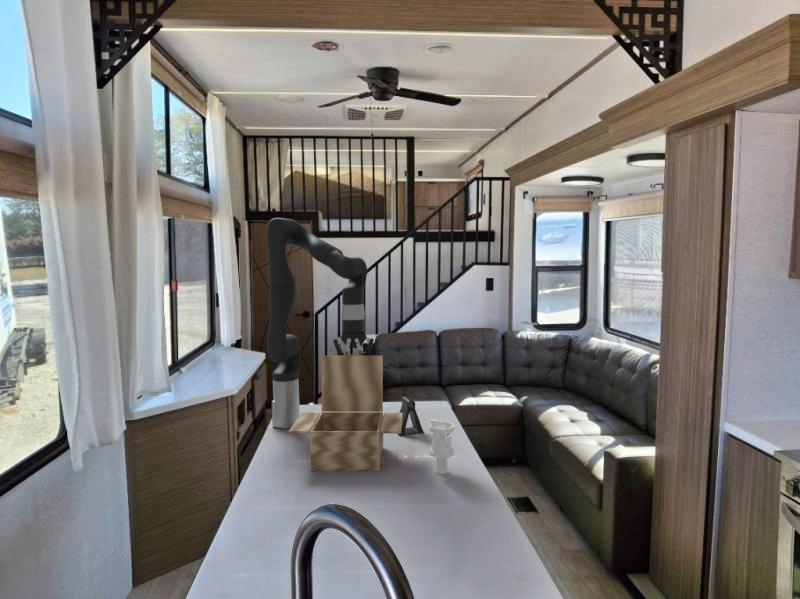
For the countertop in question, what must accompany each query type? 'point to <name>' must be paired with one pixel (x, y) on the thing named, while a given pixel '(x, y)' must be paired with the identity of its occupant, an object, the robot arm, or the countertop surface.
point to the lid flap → (352, 383)
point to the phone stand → (407, 409)
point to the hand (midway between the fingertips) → (354, 368)
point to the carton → (347, 438)
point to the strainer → (441, 444)
